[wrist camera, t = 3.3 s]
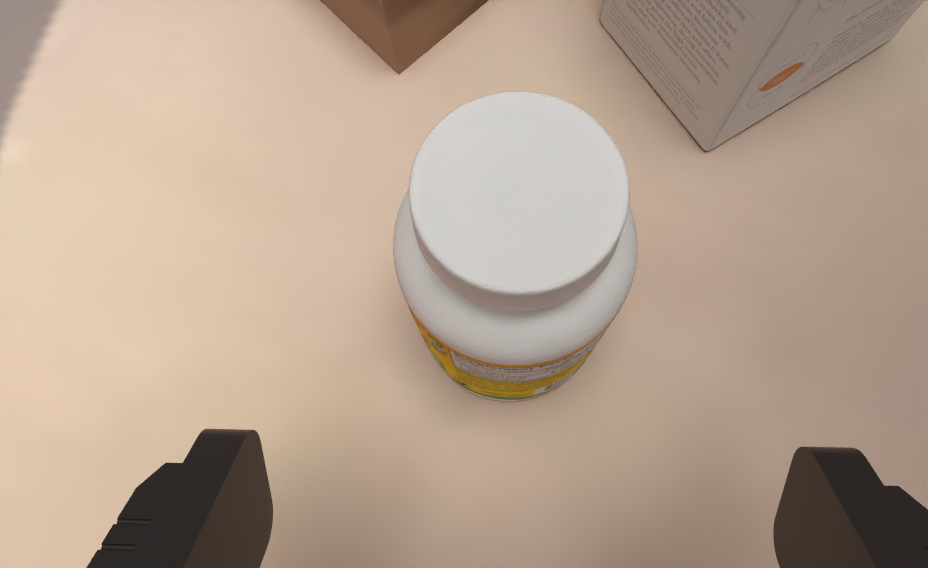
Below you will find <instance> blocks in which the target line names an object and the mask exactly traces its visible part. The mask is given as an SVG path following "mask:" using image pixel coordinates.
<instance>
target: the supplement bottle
mask: <svg viewBox="0 0 928 568" xmlns="http://www.w3.org/2000/svg"><path fill="white" fill-rule="evenodd" d="M629 201H630V187H629V179H628V174H627V169H626V166H625V163H624V161H623V158H622V156H621V153H620V151H619V149H618V148H617V146H616V144H615V142H614V141H613V139H612V138H611V136H610V135H609V134H608V133H607V132H606V130H605V129H604V128H603V127H602V126H601V125H600V124H599V123H598V122H597V121H596V120H595V119H594V118H592V117H591V116H590V115H589V114H587V113H586V112H585V111H583V110H581V109H579V108H578V107H576V106H574V105H573V104H571V103H569V102H566V101H563V100H562V99H559V98H556V97H552V96H549V95H546V94H540V93H534V92H502V93H496V94H492V95H488V96H485V97H481V98H478V99H475V100H473V101H470V102H468V103H466V104H464V105H462V106H460V107H459V108H457V109H456V110H454V111H453V112H451V113H450V114H448V115H447V116H446V117H445V118H444V119H442V120H441V121H440V122H439V123H438V124H437V125H436V126H435V127H434V128H433V129H432V130H431V132H430V133H429V134H428V136H427V137H426V139H425V140H424V142H423V144H422V145H421V147H420V149H419V151H418V153H417V155H416V157H415V160H414V163H413V166H412V170H411V175H410V181H409V189H408V191H407V193H406V195H405V197H404V199H403V201H402V204H401V206H400V209H399V212H398V215H397V219H396V223H395V229H394V237H393V256H394V264H395V270H396V274H397V278H398V281H399V284H400V287H401V290H402V292H403V295H404V297H405V299H406V302H407V304H408V306H409V308H410V311H411V314H412V315H413V317H414V319H415V321H416V324H417V325H418V327H419V330H420V331H421V334H422V336H423V338H424V340H425V343H426V344H427V346H428V348H429V350H430V352H431V354H432V355H433V357H434V358H435V360H436V361H437V362H438V364H439V365H440V367H441V368H442V369H443V370H444V372H445V373H446V374H447V375H448V376H449V377H450V378H451V379H452V380H453V381H454V382H456V383H457V384H458V385H459V386H461V387H462V388H464V389H466V390H467V391H469V392H471V393H473V394H476V395H478V396H481V397H484V398H488V399H493V400H499V401H520V400H526V399H531V398H535V397H538V396H541V395H544V394H546V393H548V392H550V391H552V390H554V389H556V388H557V387H559V386H560V385H562V384H563V383H564V382H566V381H567V380H568V379H569V378H570V377H571V376H572V375H573V374H574V373H575V372H576V371H577V370H578V369H579V368H580V366H581V365H582V364H583V363H584V361H585V360H586V359H587V357H588V356H589V355H590V353H591V352H592V350H593V349H594V347H595V345H596V344H597V343H598V341H599V340H600V338H601V337H602V335H603V334H604V333H605V331H606V330H607V328H608V327H609V325H610V324H611V322H612V321H613V319H614V318H615V317H616V315H617V313H618V312H619V310H620V308H621V306H622V305H623V303H624V301H625V299H626V297H627V295H628V292H629V290H630V287H631V284H632V281H633V277H634V274H635V269H636V262H637V234H636V227H635V223H634V219H633V215H632V212H631V209H630V207H629Z"/></svg>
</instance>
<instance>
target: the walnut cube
mask: <svg viewBox="0 0 928 568" xmlns="http://www.w3.org/2000/svg"><path fill="white" fill-rule="evenodd" d="M320 1H321V2H322V3H323V4H325V5H326V6H327V7H328V8H329V9H330V10H331V11H332V12H333V13H334V14H335V15H336V16H337V17H338V18H339V19H340V20H342V21H343V22H344V23H345V24H346V25H347V26H348V27H349V28H350V29H351V30H352V31H353V32H354V33H355V34H356V35H357V36H359V37H360V38H361V39H362V40H363V41H364V42H365V43H366V44H367V45H368V46H369V47H370V48H371V49H372V50H373V51H374V52H376V53H377V54H378V55H379V56H380V57H381V58H382V59H383V60H384V61H385V62H386V63H387V64H388V65H389V66H390V67H391V68H392V69H394V70H395V71H396V72H397V73H398V74H400V73H402V72H403V71H404V70H405V69H406V68H408V67H409V66H410V65H411V64H412V63H414V62H415V61H416V60H417V59H418V58H420V57H421V56H422V55H423V54H425V53H426V52H427V51H428V50H429V49H431V48H432V47H433V46H434V45H435V44H437V43H438V42H439V41H440V40H441V39H443V38H444V37H445V36H446V35H447V34H449V33H450V32H451V31H452V30H453V29H455V28H456V27H457V26H458V25H459V24H461V23H462V22H463V21H464V20H465V19H467V18H468V17H469V16H470V15H472V14H473V13H474V12H475V11H476V10H478V9H479V8H480V7H481V6H482V5H484V4H485V3H486V2H487V1H488V0H320Z"/></svg>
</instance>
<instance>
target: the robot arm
mask: <svg viewBox="0 0 928 568" xmlns="http://www.w3.org/2000/svg"><path fill="white" fill-rule="evenodd" d="M117 519H118V521H117V524H113V526H112V528H111V529H110V531H109V532H108V534H107V536H106V537H105V539H104V540H103V542H102V548H101V550H97V552H96V553H95V555H94V557H93V558H92V560H91V561H90V563H89V565H88V566H87V568H260V565H261V562H262V560H263V557H264V554H265V551H266V549H267V546H268V543H269V539H270V534H271V529H272V521H273V504H272V498H271V492H270V487H269V482H268V477H267V472H266V467H265V461H264V456H263V451H262V446H261V441H260V437H259V435H258V433H257V432H256V431H255V430H233V429H205V430H203V431H202V432H201V433H200V434H199V436H198V437H197V439H196V441H195V443H194V444H193V446H192V448H191V450H190V451H189V453H188V455H187V457H186V458H185V460H184V462H183V463H165V464H164V465H163V466H161V467H160V468H159V469H158V470H157V471H156V472H154V473H153V474H152V475H151V476H150V477H149V478H147V479H146V480H145V481H144V482H143V483H142V484H140V485H139V486H138V487H137V488H136V489H135V491H134V492H133V494H132V496H131V497H130V499H129V500H128V502H127V504H126V505H125V507H124V508H123V510H122V512H121V513H120V515H119V516H118V518H117ZM773 533H774V546H775V552H776V556H777V560H778V563H779V566H780V568H928V510H927V509H926V508H925V507H924V506H922V505H921V504H920V503H919V502H917V501H916V500H915V499H914V498H913V497H911V496H910V495H909V494H908V493H907V492H905V491H904V490H903V489H902V488H900V487H899V486H884V485H883V483H882V482H881V480H880V479H879V477H878V476H877V474H876V473H875V471H874V470H873V468H872V467H871V465H870V463H869V462H868V460H867V459H866V457H865V456H864V455H863V454H862V453H861V452H860V451H859V450H857V449H855V448H836V447H800V448H798V449H797V450H796V452H795V454H794V456H793V459H792V462H791V466H790V469H789V472H788V476H787V479H786V483H785V486H784V490H783V493H782V496H781V500H780V503H779V507H778V510H777V513H776V517H775V521H774V532H773Z"/></svg>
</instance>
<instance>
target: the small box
mask: <svg viewBox="0 0 928 568" xmlns="http://www.w3.org/2000/svg"><path fill="white" fill-rule="evenodd" d="M924 1H925V0H603V4H602V9H601V13H600V21H601V22H602V26H603V27H604V28H605V29H606V30H607V31H608V33H609V34H610V35H611V36H612V38H613V39H614V40H615V41H616V42H617V44H618V45H619V46H620V47H621V48H622V50H623V51H624V52H625V53H626V55H627V56H628V57H629V59H630V60H631V61H632V62H633V63H634V65H635V66H636V67H637V68H638V69H639V71H640V72H641V73H642V74H643V76H644V77H645V78H646V79H647V80H648V82H649V83H650V84H651V85H652V87H653V88H654V89H655V91H656V92H657V93H658V94H659V96H660V97H661V98H662V99H663V101H664V102H665V103H666V105H667V106H668V107H669V108H670V109H671V110H672V112H673V113H674V114H675V115H676V117H677V118H678V119H679V120H680V122H681V123H682V124H683V125H684V126H685V128H686V129H687V130H688V131H689V132H690V133H691V135H692V136H693V137H694V138H695V140H696V141H697V142H698V143H699V145H700V146H701V147H702V148H703V149H704V150H706V151H709V150H711V149H713V148H715V147H716V146H718V145H720V144H721V143H723V142H725V141H726V140H728V139H730V138H731V137H733V136H735V135H736V134H738V133H739V132H741V131H743V130H744V129H746V128H748V127H749V126H751V125H753V124H754V123H756V122H758V121H759V120H761V119H763V118H764V117H766V116H768V115H769V114H771V113H773V112H774V111H776V110H778V109H779V108H781V107H783V106H784V105H786V104H787V103H789V102H791V101H792V100H794V99H796V98H797V97H799V96H800V95H802V94H804V93H805V92H807V91H808V90H810V89H812V88H813V87H815V86H816V85H818V84H820V83H821V82H823V81H825V80H826V79H828V78H830V77H831V76H833V75H834V74H836V73H838V72H839V71H841V70H843V69H844V68H846V67H847V66H849V65H851V64H852V63H854V62H856V61H857V60H859V59H860V58H862V57H863V56H865V55H867V54H868V53H870V52H871V51H873V50H875V49H876V48H878V47H879V46H881V45H882V44H884V43H886V42H887V41H889V40H890V39H891V38H892V37H893V36H894V35H895V34H896V33H897V32H898V30H899V29H900V28H901V27H902V26H903V24H904V23H905V22H906V21H907V20H908V19H909V18H910V17H911V15H912V14H913V13H914V12H915V11H916V10H917V9H918V7H919V6H920V5H921V4H922V3H923V2H924Z"/></svg>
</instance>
